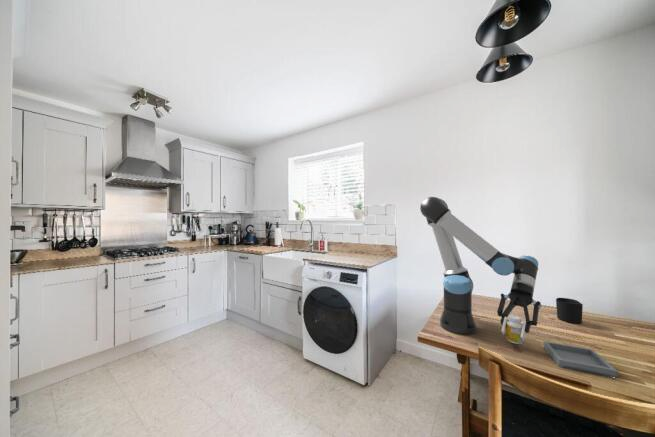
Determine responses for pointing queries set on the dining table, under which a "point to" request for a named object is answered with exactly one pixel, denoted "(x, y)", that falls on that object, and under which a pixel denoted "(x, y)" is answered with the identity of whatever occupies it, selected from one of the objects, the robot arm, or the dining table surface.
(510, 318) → the supplement bottle
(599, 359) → the tray
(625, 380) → the dining table surface
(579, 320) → the pen holder
